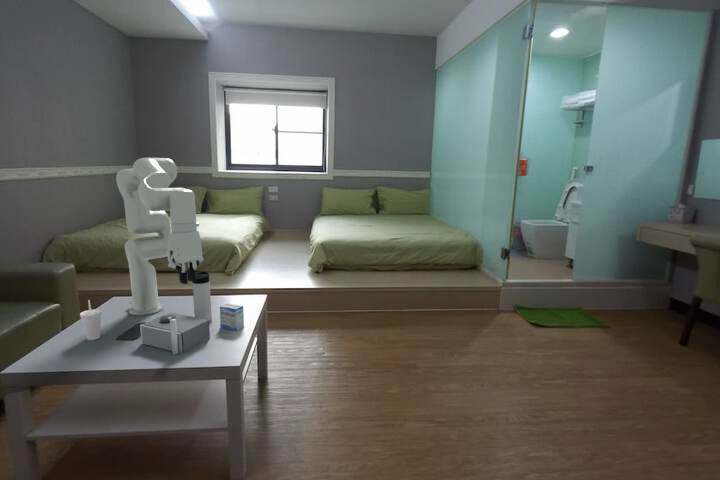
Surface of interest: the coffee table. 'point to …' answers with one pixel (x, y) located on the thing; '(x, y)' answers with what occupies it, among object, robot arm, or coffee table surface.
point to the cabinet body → (184, 328)
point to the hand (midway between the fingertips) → (187, 281)
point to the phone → (131, 333)
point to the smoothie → (91, 322)
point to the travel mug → (202, 296)
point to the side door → (162, 337)
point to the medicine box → (231, 317)
